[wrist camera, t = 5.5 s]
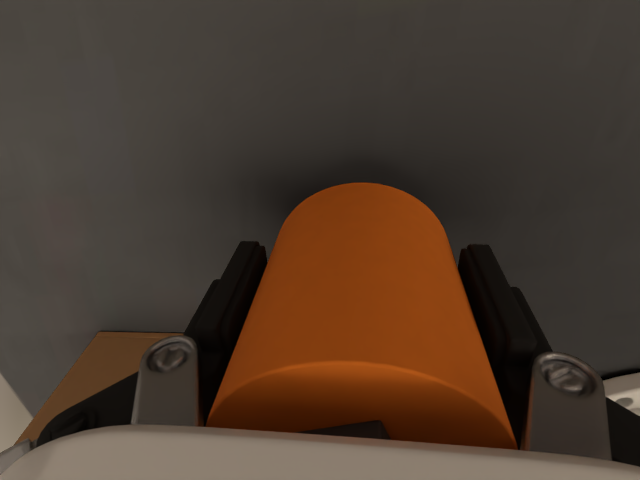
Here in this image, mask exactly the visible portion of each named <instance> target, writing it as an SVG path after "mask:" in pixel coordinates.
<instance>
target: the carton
mask: <svg viewBox="0 0 640 480" xmlns="http://www.w3.org/2000/svg"><path fill="white" fill-rule="evenodd" d="M183 334H184V333H142V332H98V333H97V335H96V336H95V337H94V339H93V340H92V341H91V343H90V344H89V345H88V347H87V348H86V349H85V351H84V352H83V353H82V355H81V356H80V357H79V359H78V360H77V361H76V363H75V364H74V365H73V367H72V368H71V369H70V371H69V372H68V373H67V375H66V376H65V377H64V379H63V380H62V381H61V383H60V384H59V385H58V387H57V388H56V389H55V391H54V392H53V393H52V395H51V396H50V397H49V399H48V400H47V401H46V403H45V404H44V405H43V407H42V408H41V409H40V411H39V412H38V413H37V415H36V416H35V417H34V419H33V420H32V422H31V423H30V424H29V426H28V427H27V428H26V429H25V431H24V432H23V433H22V435H21V436H20V437H19V439H18V440H17V441H16V443H15V444H14V445H16V444H18V443H19V442H21V441H23V440H25V439H27V438H29V439H30V440H31V441H34V440H36V439H37V438H38V437H39V435H40V433H41V431H42V430H43V429H44V427H45V426H46V425H47V423H49V422H50V421H51V420H52V419H53V418H54V417H55V416H56V415H58V414H60V413H61V412H63V411H64V410H66V409H68V408H69V407H71V406H73V405H75V404H77V403H79V402H81V401H83V400H85V399H86V398H88V397H90V396H92V395H94V394H96V393H98V392H100V391H102V390H103V389H105V388H107V387H109V386H111V385H113V384H115V383H117V382H119V381H120V380H122V379H124V378H126V377H128V376H130V375H132V374H134V373H136V372H137V371H139V366H140V361H141V358H142V355H143V354H144V353H145V351H146V350H147V349H148V348H149V347H150V346H151V345H153V344H154V343H155V342H157V341H159V340H161V339H163V338H166V337H169V336H175V335H183ZM14 445H13V446H14Z"/></svg>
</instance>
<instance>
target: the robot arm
mask: <svg viewBox="0 0 640 480" xmlns="http://www.w3.org/2000/svg"><path fill="white" fill-rule="evenodd" d="M266 266H267V257H266V251H265V247H264V246H260V245H259V242H257V241H241V242H240V243H239V245H238V247H237V249H236V251H235V253H234V254H233V256H232V258H231V260H230V262H229V264H228V266H227V268H226V269H225V271H224V273H223V275H222V277H221V279H216V280H214V281H213V282H212V284H211V285H210V287H209V289H208V291H207V293H206V294H205V296H204V298H203V300H202V302H201V303H200V305H199V307H198V309H197V311H196V312H195V314H194V316H193V318H192V320H191V321H190V323H189V325H188V327H187V329H186V331H185V332H184V334H183V335H175V336H169V337H166V338H163V339H161V340H159V341H157V342H155V343H154V344H153V345H151V346H150V347H149V348H148V349H147V350H146V351H145V353H144V354H143V355H142V358H141V361H140V366H139V371H137V372H136V373H134V374H132V375H130V376H128V377H126V378H124V379H122V380H120V381H119V382H117V383H115V384H113V385H111V386H109V387H107V388H105V389H103V390H102V391H100V392H98V393H96V394H94V395H92V396H90V397H88V398H86V399H85V400H83V401H81V402H79V403H77V404H75V405H73V406H71V407H69V408H68V409H66V410H64V411H63V412H61V413H60V414H58V415H56V416H55V417H54V418H53V419H52V420H51V421H50V422H49V423H47V425H46V426H45V427H44V429H43V430H42V431H41V433H40V435H39V437H38V438H37V439H36V440H34V441H31V440H30V439H29V438H27V439H25V440H23V441H21V442H19V443H18V444H16V445H14V446H12V447H10V448H8V449H7V450H5V451H3V452H1V453H0V480H640V373H634V374H629V375H623V376H618V377H614V378H610V379H607V380H603V381H602V379H601V377H600V376H599V374H598V373H597V372H596V371H595V370H594V369H593V368H592V367H591V366H590V365H589V364H587V363H586V362H584V361H582V360H581V359H579V358H577V357H574V356H572V355H569V354H566V353H561V352H553V351H552V349H551V347H550V345H549V343H548V341H547V339H546V337H545V336H544V334H543V332H542V330H541V328H540V326H539V324H538V322H537V320H536V318H535V317H534V315H533V313H532V311H531V309H530V307H529V305H528V303H527V301H526V300H525V298H524V296H523V294H522V292H521V291H520V289H519V288H517V287H510V286H509V284H508V282H507V280H506V278H505V276H504V274H503V272H502V270H501V268H500V266H499V264H498V262H497V260H496V258H495V256H494V254H493V252H492V250H491V248H490V246H489V245H482V244H469V245H468V247H467V249H462V250H461V253H460V259H459V264H458V271H459V274H460V277H461V280H462V283H463V286H464V289H465V292H466V295H467V297H468V300H469V303H470V306H471V309H472V312H473V315H474V318H475V321H476V324H477V327H478V330H479V333H480V336H481V339H482V342H483V345H484V348H485V351H486V354H487V357H488V360H489V363H490V366H491V369H492V372H493V375H494V378H495V381H496V384H497V387H498V390H499V393H500V396H501V399H502V401H503V404H504V407H505V410H506V413H507V416H508V419H509V422H510V425H511V428H512V431H513V434H514V437H515V440H516V443H517V446H518V450H512V449H501V448H488V447H475V446H463V445H450V444H437V443H424V442H412V441H398V440H385V439H371V438H358V437H344V436H330V435H316V434H302V433H288V432H273V431H258V430H243V429H229V428H214V427H206V423H207V420H208V416H209V414H210V411H211V408H212V406H213V403H214V401H215V398H216V395H217V393H218V390H219V388H220V385H221V382H222V380H223V377H224V375H225V372H226V370H227V367H228V364H229V362H230V359H231V357H232V354H233V351H234V349H235V346H236V344H237V341H238V338H239V336H240V333H241V331H242V328H243V325H244V323H245V320H246V318H247V315H248V312H249V310H250V307H251V305H252V302H253V299H254V297H255V294H256V292H257V289H258V286H259V284H260V281H261V279H262V276H263V273H264V271H265V268H266Z"/></svg>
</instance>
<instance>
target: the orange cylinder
mask: <svg viewBox="0 0 640 480" xmlns="http://www.w3.org/2000/svg"><path fill="white" fill-rule="evenodd" d="M206 427H214V428H229V429H243V430H258V431H273V432H288V433H302V434H316V435H330V436H344V437H358V438H371V439H385V440H398V441H412V442H424V443H437V444H450V445H463V446H475V447H488V448H501V449H512V450H518V446H517V443H516V440H515V437H514V434H513V431H512V428H511V425H510V422H509V419H508V416H507V413H506V410H505V407H504V404H503V401H502V399H501V396H500V393H499V390H498V387H497V384H496V381H495V378H494V375H493V372H492V369H491V366H490V363H489V360H488V357H487V354H486V351H485V348H484V345H483V342H482V339H481V336H480V333H479V330H478V327H477V324H476V321H475V318H474V315H473V312H472V309H471V306H470V303H469V300H468V297H467V295H466V292H465V289H464V286H463V283H462V280H461V277H460V274H459V271H458V268H457V265H456V262H455V259H454V256H453V253H452V250H451V247H450V244H449V241H448V238H447V235H446V233H445V230H444V228H443V226H442V225H441V223H440V221H439V219H438V218H437V217H436V216H435V215H434V213H433V212H432V211H431V210H430V209H429V208H428V207H427V206H426V205H425V204H424V203H422V202H421V201H419V200H418V199H416V198H415V197H414V196H412V195H410V194H408V193H406V192H404V191H402V190H399V189H396V188H393V187H390V186H386V185H381V184H375V183H348V184H341V185H337V186H333V187H330V188H327V189H324V190H322V191H320V192H317V193H315V194H314V195H312V196H310V197H308V198H307V199H305V200H304V201H303V202H302V203H300V204H299V205H298V206H297V207H296V208H295V209H294V210H293V211H292V212H291V213H290V215H289V216H288V217H287V219H286V220H285V222H284V224H283V226H282V228H281V230H280V232H279V235H278V237H277V240H276V242H275V245H274V248H273V250H272V253H271V255H270V258H269V260H268V263H267V266H266V268H265V271H264V273H263V276H262V279H261V281H260V284H259V286H258V289H257V292H256V294H255V297H254V299H253V302H252V305H251V307H250V310H249V312H248V315H247V318H246V320H245V323H244V325H243V328H242V331H241V333H240V336H239V338H238V341H237V344H236V346H235V349H234V351H233V354H232V357H231V359H230V362H229V364H228V367H227V370H226V372H225V375H224V377H223V380H222V382H221V385H220V388H219V390H218V393H217V395H216V398H215V401H214V403H213V406H212V408H211V411H210V414H209V416H208V420H207V423H206Z"/></svg>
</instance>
